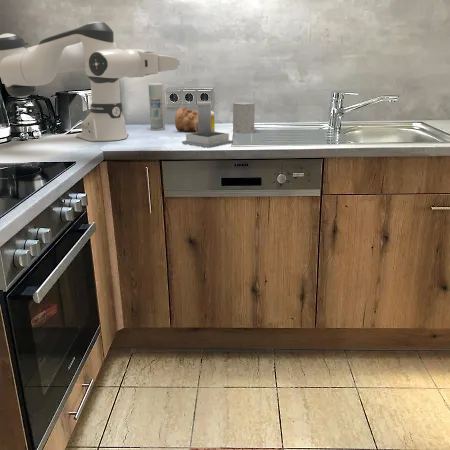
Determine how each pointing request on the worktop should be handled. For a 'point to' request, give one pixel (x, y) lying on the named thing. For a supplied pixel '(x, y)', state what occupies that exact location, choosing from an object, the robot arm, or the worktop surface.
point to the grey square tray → (207, 139)
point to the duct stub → (204, 118)
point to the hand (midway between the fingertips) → (168, 62)
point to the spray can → (156, 106)
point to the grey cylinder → (243, 117)
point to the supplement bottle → (212, 121)
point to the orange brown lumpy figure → (186, 120)
